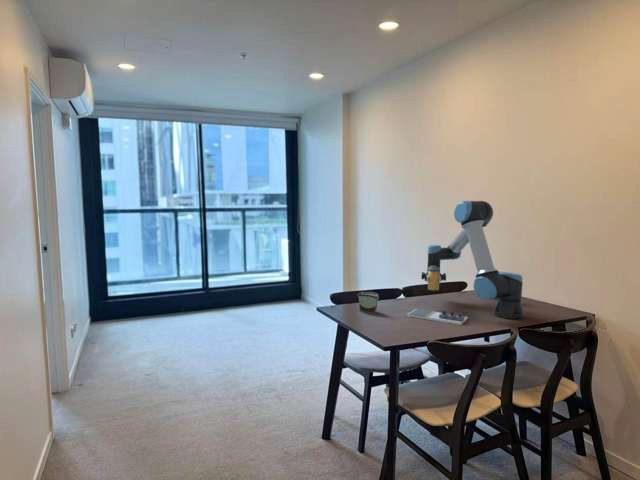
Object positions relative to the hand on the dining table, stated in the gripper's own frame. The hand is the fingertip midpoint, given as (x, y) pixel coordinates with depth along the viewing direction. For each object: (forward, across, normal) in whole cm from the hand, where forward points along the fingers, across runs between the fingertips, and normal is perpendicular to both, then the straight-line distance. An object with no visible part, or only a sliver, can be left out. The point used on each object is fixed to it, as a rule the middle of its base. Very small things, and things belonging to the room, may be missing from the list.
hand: (433, 280), depth 238 cm
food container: (+6, +34, -18) cm, 39 cm away
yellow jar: (-5, 0, -6) cm, 8 cm away
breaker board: (+10, -2, -18) cm, 21 cm away
